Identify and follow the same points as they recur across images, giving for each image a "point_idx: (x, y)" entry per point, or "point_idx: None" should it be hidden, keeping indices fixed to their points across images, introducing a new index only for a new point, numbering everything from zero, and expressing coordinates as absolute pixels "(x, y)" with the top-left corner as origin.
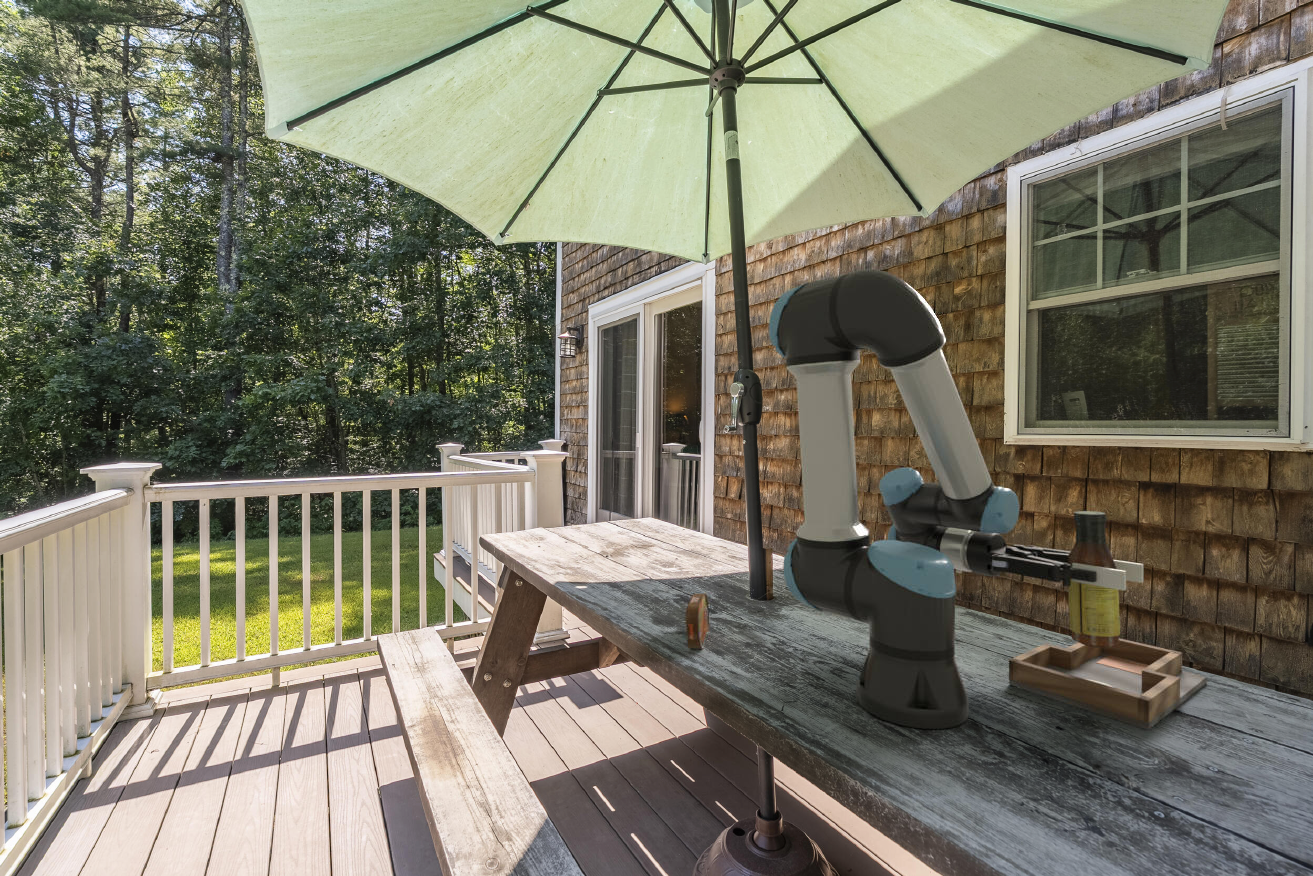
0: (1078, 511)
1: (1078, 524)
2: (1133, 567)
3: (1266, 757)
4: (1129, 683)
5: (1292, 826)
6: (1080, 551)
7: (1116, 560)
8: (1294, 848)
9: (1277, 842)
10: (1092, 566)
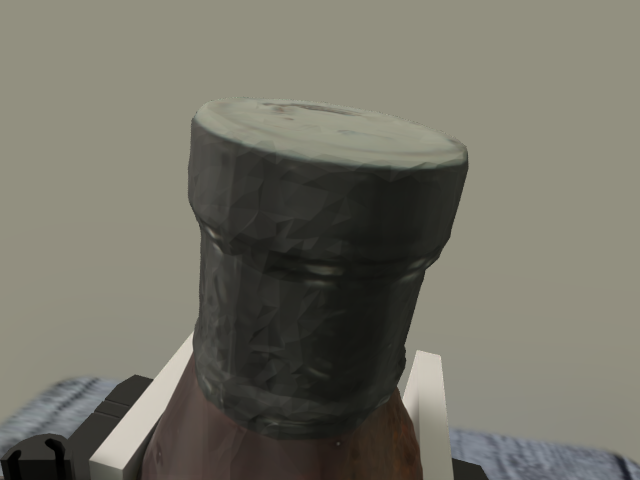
0: (268, 135)
1: (408, 279)
2: None
3: None
4: None
5: (543, 447)
6: (406, 459)
7: (176, 364)
8: (594, 453)
9: (600, 464)
10: (446, 454)
